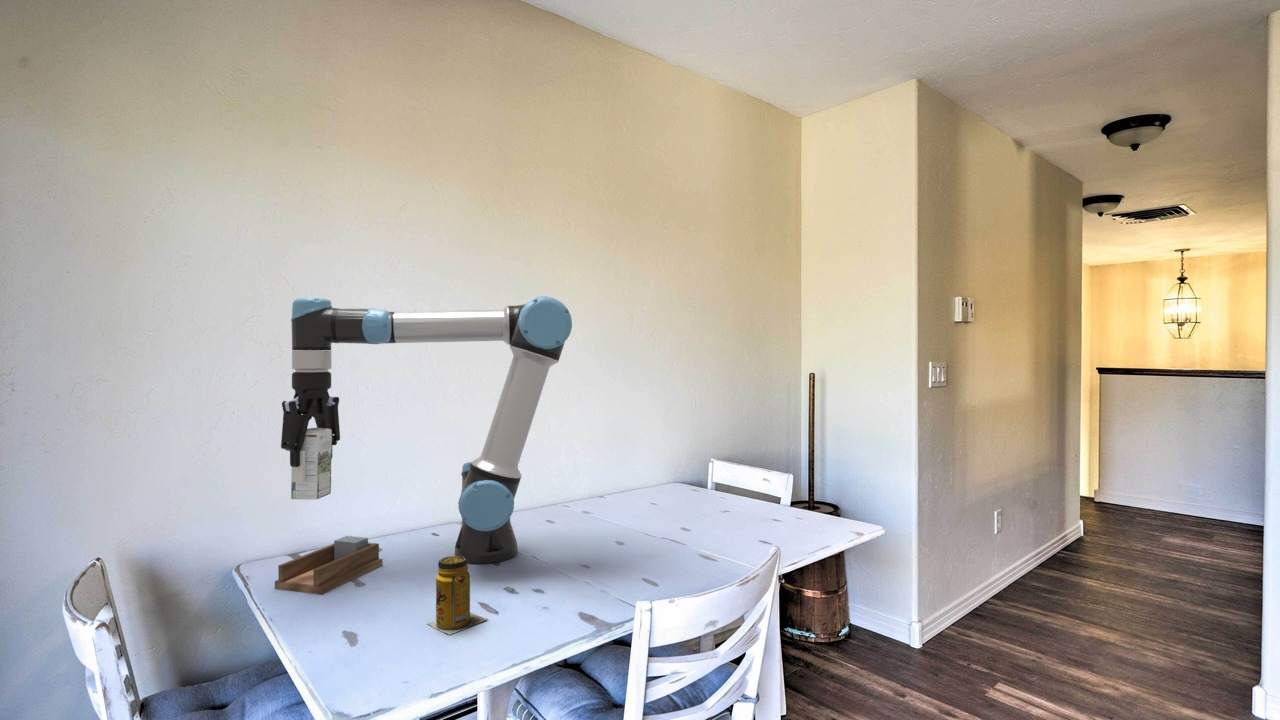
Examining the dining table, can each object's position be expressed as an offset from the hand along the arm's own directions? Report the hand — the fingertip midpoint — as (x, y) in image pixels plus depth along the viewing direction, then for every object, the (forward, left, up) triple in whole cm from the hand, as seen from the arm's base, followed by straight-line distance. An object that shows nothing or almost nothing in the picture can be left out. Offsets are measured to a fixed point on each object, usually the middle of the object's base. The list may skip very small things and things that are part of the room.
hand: (311, 478), depth 138 cm
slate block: (0, -12, -21) cm, 25 cm away
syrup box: (0, 0, -4) cm, 4 cm away
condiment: (-40, +7, -23) cm, 47 cm away
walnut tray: (0, -6, -23) cm, 24 cm away
